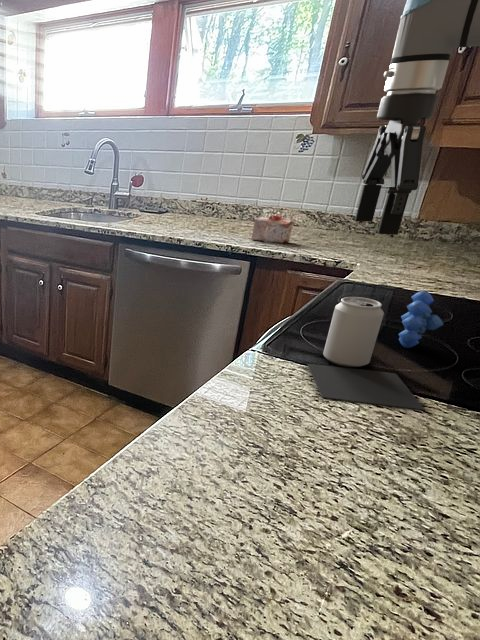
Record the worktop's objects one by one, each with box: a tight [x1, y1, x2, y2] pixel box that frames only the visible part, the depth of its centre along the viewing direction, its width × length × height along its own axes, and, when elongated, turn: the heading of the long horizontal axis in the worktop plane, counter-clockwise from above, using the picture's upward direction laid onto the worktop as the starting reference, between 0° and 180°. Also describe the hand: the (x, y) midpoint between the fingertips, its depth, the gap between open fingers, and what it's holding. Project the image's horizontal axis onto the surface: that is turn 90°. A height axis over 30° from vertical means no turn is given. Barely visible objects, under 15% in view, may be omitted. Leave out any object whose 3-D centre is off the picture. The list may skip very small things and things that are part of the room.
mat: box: [306, 363, 426, 412], centre depth 89 cm, size 14×14×1 cm
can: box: [322, 296, 385, 368], centre depth 96 cm, size 8×8×12 cm
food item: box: [251, 214, 295, 244], centre depth 201 cm, size 14×8×10 cm, turn 41°
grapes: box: [398, 290, 444, 349], centre depth 102 cm, size 12×7×12 cm, turn 136°
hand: (374, 227), depth 93 cm, fingers open, 13 cm apart
